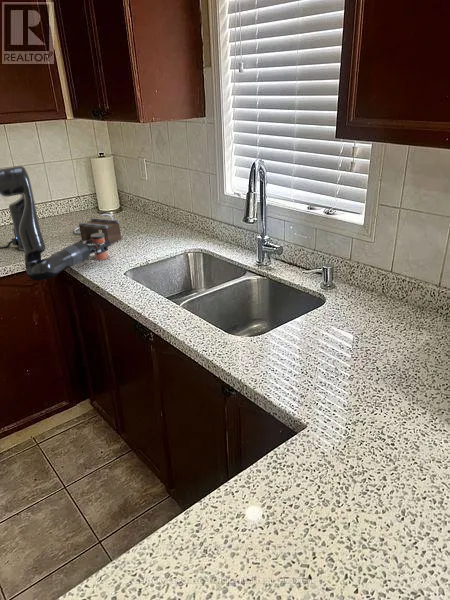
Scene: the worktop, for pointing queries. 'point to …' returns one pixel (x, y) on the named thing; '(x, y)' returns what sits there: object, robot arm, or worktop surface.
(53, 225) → the worktop surface
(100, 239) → the spice jar
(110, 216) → the hook
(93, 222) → the rail rack
